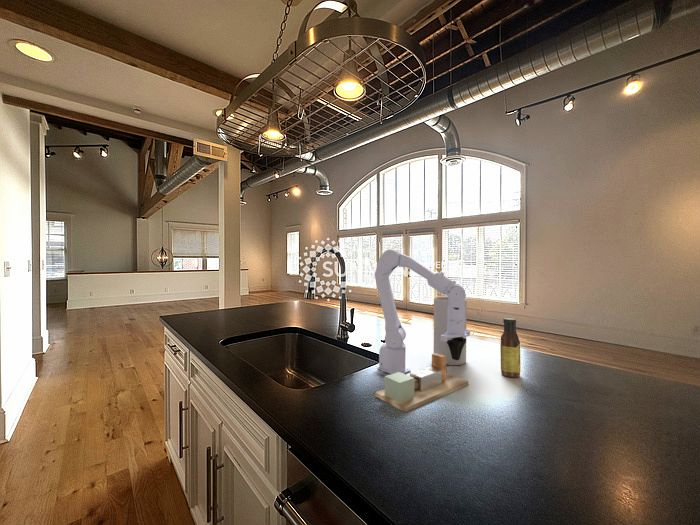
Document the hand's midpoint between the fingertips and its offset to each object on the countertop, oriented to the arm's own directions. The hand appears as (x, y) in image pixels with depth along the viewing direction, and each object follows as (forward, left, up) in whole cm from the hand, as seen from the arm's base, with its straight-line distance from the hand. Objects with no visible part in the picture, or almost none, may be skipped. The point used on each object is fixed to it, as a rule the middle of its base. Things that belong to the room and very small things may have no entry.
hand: (455, 359), depth 105 cm
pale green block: (0, -28, -5) cm, 28 cm away
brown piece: (0, -18, -5) cm, 19 cm away
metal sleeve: (0, -16, -5) cm, 17 cm away
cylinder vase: (-12, +14, -7) cm, 20 cm away
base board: (0, -17, -6) cm, 18 cm away
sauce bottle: (+10, +18, -7) cm, 22 cm away
